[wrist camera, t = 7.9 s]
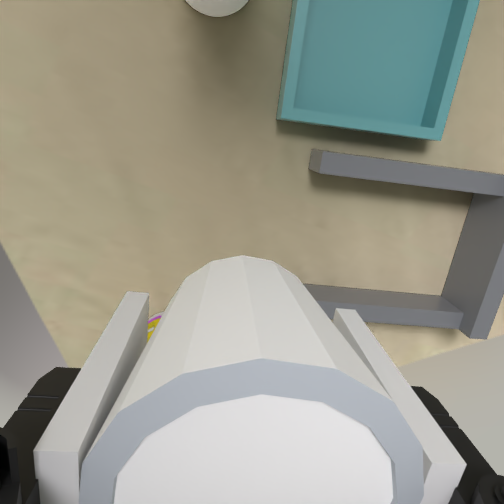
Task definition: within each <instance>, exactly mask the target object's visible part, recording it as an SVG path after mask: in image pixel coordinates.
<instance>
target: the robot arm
mask: <svg viewBox="0 0 504 504" xmlns="http://www.w3.org/2000/svg"><path fill="white" fill-rule="evenodd" d="M148 310H149V293H144V292H131V291H127V292H126V294H125V296H124V297H123V299H122V301H121V302H120V304H119V306H118V307H117V309H116V311H115V313H114V314H113V316H112V318H111V319H110V321H109V323H108V324H107V326H106V328H105V330H104V331H103V333H102V335H101V336H100V338H99V340H98V341H97V343H96V345H95V347H94V348H93V350H92V352H91V353H90V355H89V357H88V358H87V360H86V362H85V364H84V365H83V367H82V369H81V368H63V367H62V368H61V367H56V368H54V369H53V370H51V371H50V372H49V373H47V374H46V375H44V376H43V377H41V378H40V379H39V380H38V381H37V382H36V384H35V385H34V387H33V388H32V389H31V391H30V392H29V393H28V396H27V398H25V399H24V400H23V402H22V403H21V404H20V406H19V407H18V410H17V411H15V412H14V414H13V415H12V417H11V418H10V419H9V421H8V422H7V423H6V425H5V426H4V427H3V428H0V504H79V493H80V482H81V471H82V463H83V461H84V459H85V457H86V455H87V454H88V452H89V450H90V448H91V446H92V444H93V443H94V441H95V439H96V437H97V435H98V433H99V431H100V430H101V428H102V426H103V424H104V422H105V420H106V418H107V417H108V415H109V413H110V411H111V409H112V407H113V406H114V404H115V402H116V400H117V398H118V396H119V394H120V393H121V391H122V389H123V387H124V385H125V383H126V382H127V380H128V378H129V376H130V374H131V372H132V370H133V369H134V367H135V365H136V363H137V361H138V359H139V358H140V356H141V354H142V352H143V350H144V348H145V346H146V345H147V335H148ZM333 324H334V325H335V326H336V328H337V329H338V330H339V331H340V333H341V334H342V335H343V337H344V338H345V339H346V341H347V342H348V343H349V344H350V346H351V347H352V348H353V350H354V351H355V352H356V353H357V355H358V356H359V357H360V359H361V360H362V361H363V363H364V364H365V365H366V366H367V368H368V369H369V370H370V372H371V373H372V374H373V375H374V377H375V378H376V379H377V381H378V382H379V383H380V385H381V386H382V387H383V388H384V390H385V391H386V392H387V394H388V395H389V396H390V397H391V399H392V400H393V401H394V403H395V404H396V406H397V408H398V409H399V411H400V412H401V414H402V415H403V417H404V419H405V420H406V422H407V423H408V425H409V426H410V428H411V430H412V431H413V433H414V434H415V436H416V437H417V439H418V440H419V442H420V444H421V445H422V447H423V479H424V497H423V499H422V501H421V503H420V504H504V476H501V475H497V474H496V473H495V471H494V470H493V469H492V468H491V467H490V465H489V464H488V463H487V462H486V460H485V459H484V458H483V456H482V455H481V454H480V453H479V451H478V450H477V449H476V447H475V446H474V445H473V444H472V442H471V441H470V440H469V439H468V437H467V436H466V435H465V433H464V432H463V431H462V430H461V429H459V428H458V425H457V423H456V422H455V421H454V420H453V418H452V417H450V416H449V413H448V412H447V411H446V409H445V408H444V407H443V406H442V404H441V403H440V402H439V400H438V399H437V398H435V397H434V396H433V395H431V394H430V393H429V392H428V391H426V390H425V389H424V388H423V387H415V386H410V385H409V384H408V382H407V381H406V380H405V378H404V377H403V375H402V374H401V373H400V371H399V370H398V368H397V367H396V366H395V364H394V363H393V361H392V360H391V359H390V357H389V356H388V355H387V353H386V352H385V350H384V349H383V348H382V346H381V345H380V343H379V342H378V341H377V339H376V338H375V336H374V335H373V334H372V332H371V331H370V330H369V328H368V327H367V325H366V324H365V323H364V321H363V320H362V318H361V317H360V316H359V314H358V313H357V312H356V310H352V309H340V308H336V310H335V314H334V318H333Z"/></svg>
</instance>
